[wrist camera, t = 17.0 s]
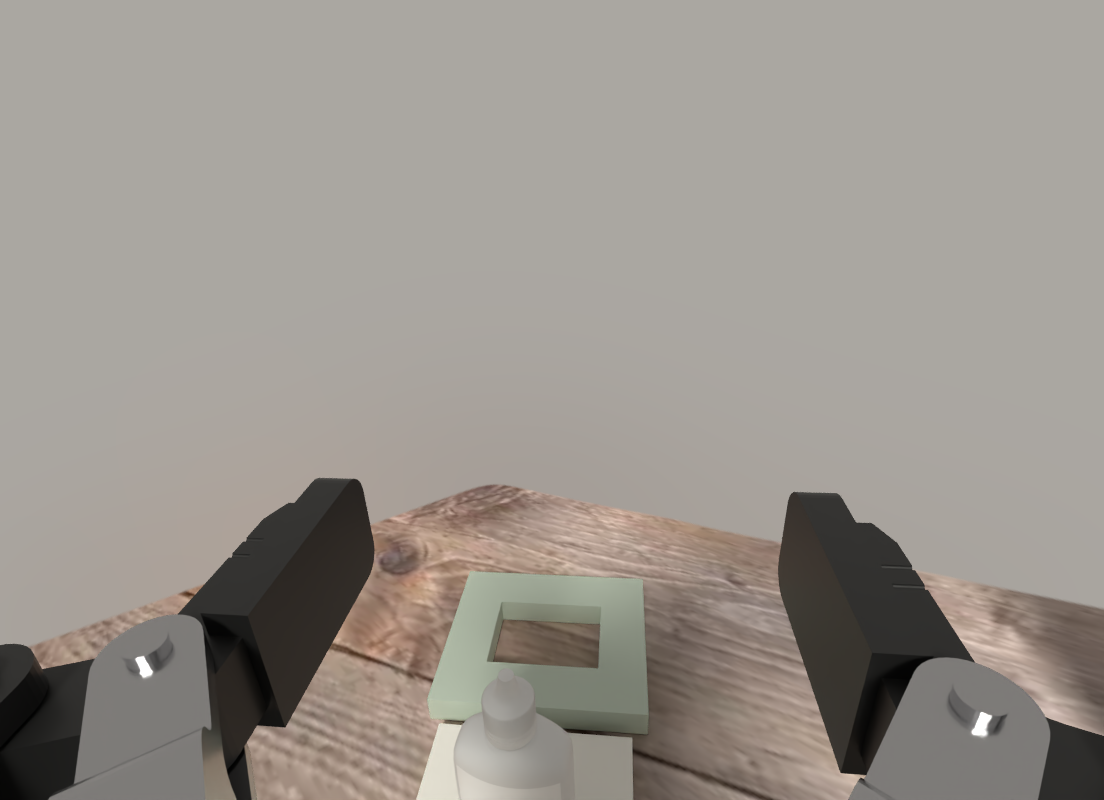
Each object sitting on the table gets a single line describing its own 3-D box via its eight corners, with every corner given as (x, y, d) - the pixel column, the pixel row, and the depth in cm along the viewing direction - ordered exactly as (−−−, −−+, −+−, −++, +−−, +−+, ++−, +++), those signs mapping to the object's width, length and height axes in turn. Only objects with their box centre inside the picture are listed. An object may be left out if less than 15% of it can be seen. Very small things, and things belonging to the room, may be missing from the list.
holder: (642, 596, 48) (642, 578, 47) (647, 734, 37) (648, 714, 36) (472, 588, 50) (470, 571, 49) (430, 718, 39) (427, 699, 38)
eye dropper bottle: (533, 917, 28) (518, 750, 23) (454, 835, 31) (426, 674, 26) (589, 839, 31) (587, 675, 26) (512, 772, 34) (496, 615, 29)
